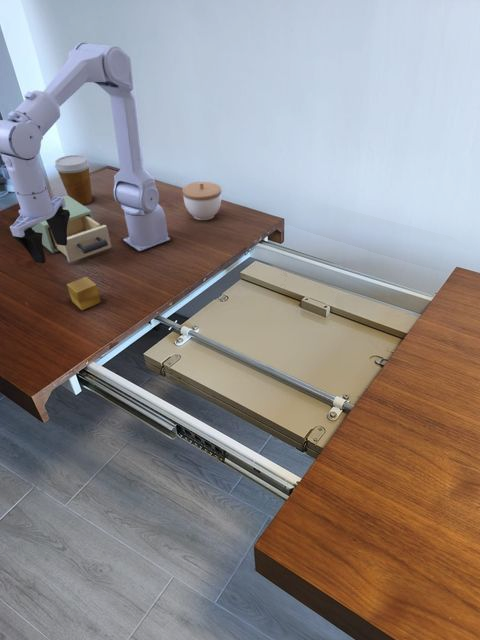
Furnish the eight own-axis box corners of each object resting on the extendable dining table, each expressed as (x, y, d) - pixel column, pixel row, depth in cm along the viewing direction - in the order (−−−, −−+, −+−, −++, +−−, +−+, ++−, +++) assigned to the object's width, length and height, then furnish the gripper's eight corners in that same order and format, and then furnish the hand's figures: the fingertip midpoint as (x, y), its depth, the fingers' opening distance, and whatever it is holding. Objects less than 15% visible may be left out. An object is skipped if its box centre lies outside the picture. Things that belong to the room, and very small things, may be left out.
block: (91, 293, 104) (86, 276, 101) (101, 302, 102) (96, 284, 99) (72, 301, 102) (66, 284, 99) (81, 310, 100) (76, 292, 97)
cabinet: (97, 237, 124) (91, 210, 120) (52, 253, 118) (43, 225, 113) (74, 220, 132) (67, 195, 127) (30, 234, 125) (21, 208, 121)
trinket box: (194, 227, 129) (190, 193, 123) (179, 212, 136) (175, 180, 130) (229, 218, 133) (227, 186, 127) (213, 204, 140) (211, 173, 134)
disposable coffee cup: (66, 196, 145) (55, 155, 137) (98, 193, 146) (89, 153, 139) (63, 208, 138) (52, 167, 130) (97, 205, 139) (87, 164, 132)
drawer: (120, 253, 116) (115, 232, 113) (78, 269, 111) (71, 247, 107) (88, 230, 126) (83, 210, 122) (47, 244, 120) (40, 223, 116)
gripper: (36, 173, 96) (55, 234, 105) (-14, 202, 85) (12, 267, 94) (66, 177, 94) (83, 239, 103) (20, 206, 84) (43, 272, 93)
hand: (51, 253), depth 99 cm, fingers open, 7 cm apart
